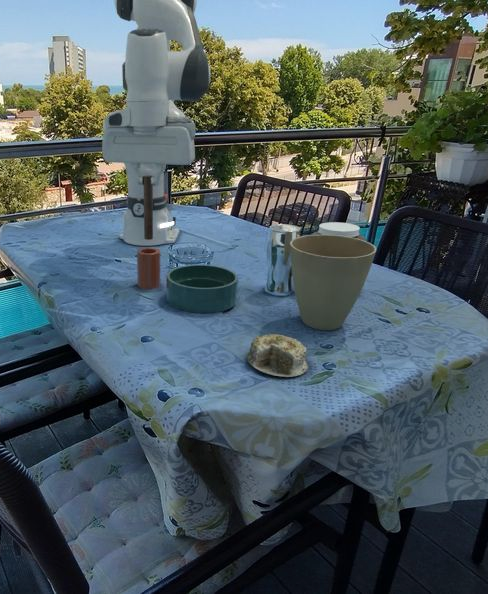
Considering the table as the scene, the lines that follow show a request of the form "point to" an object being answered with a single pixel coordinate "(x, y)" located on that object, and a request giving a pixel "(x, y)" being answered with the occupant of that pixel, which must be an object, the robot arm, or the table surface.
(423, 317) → the table surface
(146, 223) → the stirring stick
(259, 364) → the cake
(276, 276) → the shiny metal cylinder
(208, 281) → the bowl
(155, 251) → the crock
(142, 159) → the robot arm
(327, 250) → the plant pot
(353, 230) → the jar
